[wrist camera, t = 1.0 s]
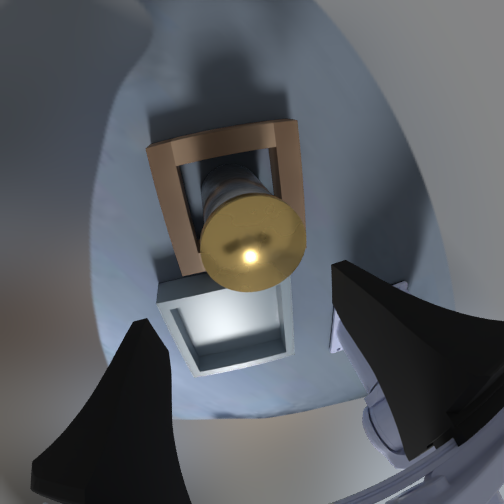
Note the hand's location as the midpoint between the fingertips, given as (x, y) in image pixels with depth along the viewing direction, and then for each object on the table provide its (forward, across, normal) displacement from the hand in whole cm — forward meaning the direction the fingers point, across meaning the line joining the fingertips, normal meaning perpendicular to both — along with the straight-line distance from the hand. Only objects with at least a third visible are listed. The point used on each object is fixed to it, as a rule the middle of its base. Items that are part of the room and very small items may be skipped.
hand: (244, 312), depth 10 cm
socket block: (+10, -1, -1) cm, 11 cm away
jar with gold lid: (+10, -1, -1) cm, 11 cm away
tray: (+10, +2, +10) cm, 14 cm away
